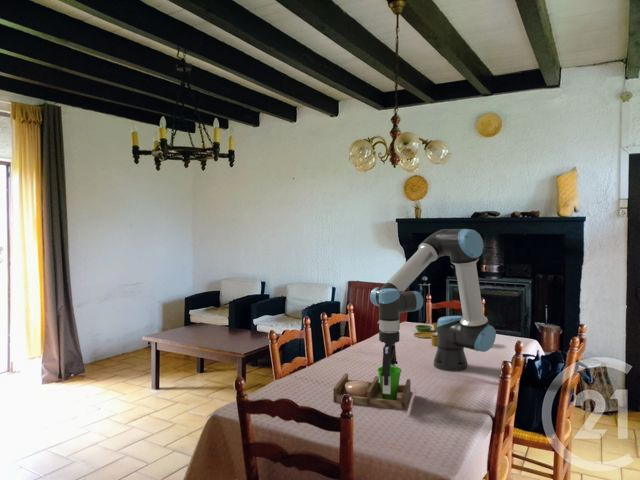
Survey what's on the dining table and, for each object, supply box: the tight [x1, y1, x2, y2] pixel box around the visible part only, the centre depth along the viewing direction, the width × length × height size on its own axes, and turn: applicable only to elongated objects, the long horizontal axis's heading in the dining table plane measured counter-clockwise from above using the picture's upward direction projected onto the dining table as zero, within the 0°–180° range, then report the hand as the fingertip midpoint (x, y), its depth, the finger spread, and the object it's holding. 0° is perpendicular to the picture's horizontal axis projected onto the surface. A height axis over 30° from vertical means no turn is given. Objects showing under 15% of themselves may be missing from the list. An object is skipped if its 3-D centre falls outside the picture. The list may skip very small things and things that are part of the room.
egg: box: [345, 380, 369, 397], centre depth 178 cm, size 9×9×4 cm
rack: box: [332, 373, 411, 411], centre depth 177 cm, size 26×18×6 cm
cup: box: [376, 366, 402, 400], centre depth 174 cm, size 9×9×11 cm
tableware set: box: [413, 322, 438, 347], centre depth 271 cm, size 41×28×6 cm
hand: (389, 387), depth 175 cm, fingers open, 13 cm apart
